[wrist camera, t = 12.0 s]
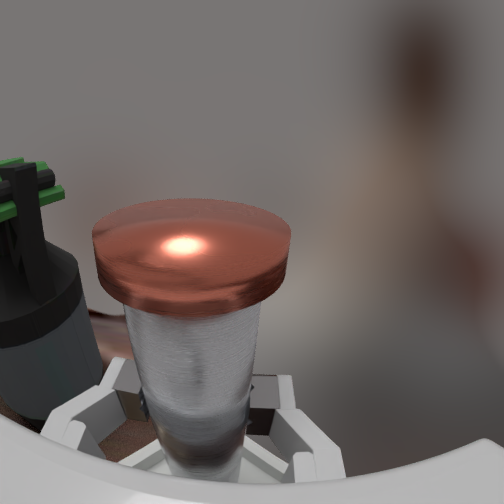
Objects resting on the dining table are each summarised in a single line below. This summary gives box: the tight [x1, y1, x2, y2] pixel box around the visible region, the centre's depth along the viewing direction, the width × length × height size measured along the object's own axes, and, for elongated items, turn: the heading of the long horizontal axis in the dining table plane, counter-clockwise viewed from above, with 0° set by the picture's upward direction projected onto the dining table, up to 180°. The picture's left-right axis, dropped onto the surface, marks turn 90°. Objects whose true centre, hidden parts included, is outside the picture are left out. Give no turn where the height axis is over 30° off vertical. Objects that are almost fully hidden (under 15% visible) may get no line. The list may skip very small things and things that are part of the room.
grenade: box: [0, 157, 103, 431], centre depth 16 cm, size 11×13×20 cm
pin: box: [92, 199, 291, 483], centre depth 10 cm, size 5×5×17 cm
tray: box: [118, 436, 289, 484], centre depth 14 cm, size 10×10×2 cm
